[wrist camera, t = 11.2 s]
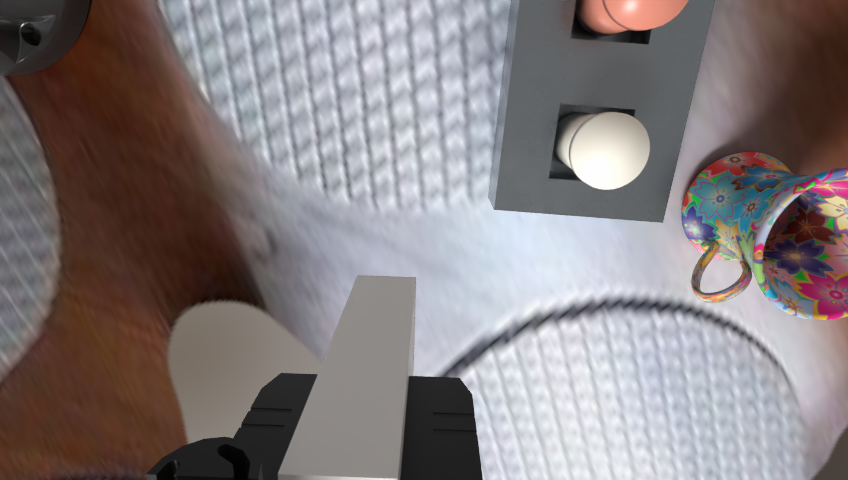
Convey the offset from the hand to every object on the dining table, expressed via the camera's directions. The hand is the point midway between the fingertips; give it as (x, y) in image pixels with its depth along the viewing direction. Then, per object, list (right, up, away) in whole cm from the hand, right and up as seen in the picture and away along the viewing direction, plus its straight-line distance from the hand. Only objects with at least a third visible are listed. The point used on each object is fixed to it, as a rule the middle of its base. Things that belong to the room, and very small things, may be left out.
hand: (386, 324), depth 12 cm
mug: (+24, +4, +25) cm, 35 cm away
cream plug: (+12, +10, +23) cm, 27 cm away
